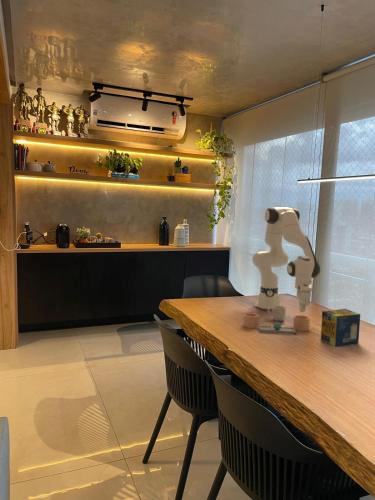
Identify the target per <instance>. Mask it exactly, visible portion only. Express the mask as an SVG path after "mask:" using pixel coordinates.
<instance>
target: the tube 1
mask: <svg viewBox="0 0 375 500" xmlns="http://www.w3.org/2000/svg"><path fill="white" fill-rule="evenodd" d="M259 323H260V314H258V313H255V312H245V313H243V324H242V325H243V326H242V327H244V328H247V329H257V328H258V329H259V326H260V325H259Z"/></svg>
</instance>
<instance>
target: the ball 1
mask: <svg viewBox="0 0 375 500" xmlns="http://www.w3.org/2000/svg"><path fill="white" fill-rule="evenodd" d="M273 326H274V328H275V329H277V330H278V329H280V328H281V327H282V324H281V322H280V321H276V322H274V324H273Z"/></svg>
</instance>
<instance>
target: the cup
mask: <svg viewBox="0 0 375 500" xmlns="http://www.w3.org/2000/svg"><path fill="white" fill-rule="evenodd" d="M286 310H287V308H286V307H285V306H283V305H281V306H273V307H272V308H269V309H267V314H268V315H269V316H271V317H272V319H273V321H276V322H282V321H284V320H285V317H286ZM270 311H271V313H270Z"/></svg>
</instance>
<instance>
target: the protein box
mask: <svg viewBox="0 0 375 500" xmlns="http://www.w3.org/2000/svg"><path fill="white" fill-rule="evenodd" d="M321 312H322V313H321V325H320V326H321V330H320V341H322V342H323V343H326V344H328V345H330V346H332V347H333V348H334V347H335V348H336V347H343V346H350V345H351V344H353V345H358V344H359V339H360V338H359V337H360V327H361V324H360V323H361V314H360V313H358V312H356V311H352V310H350V309H347V308H339V309H330V310H329V309H328V310H322V311H321ZM357 343H358V344H357Z"/></svg>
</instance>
